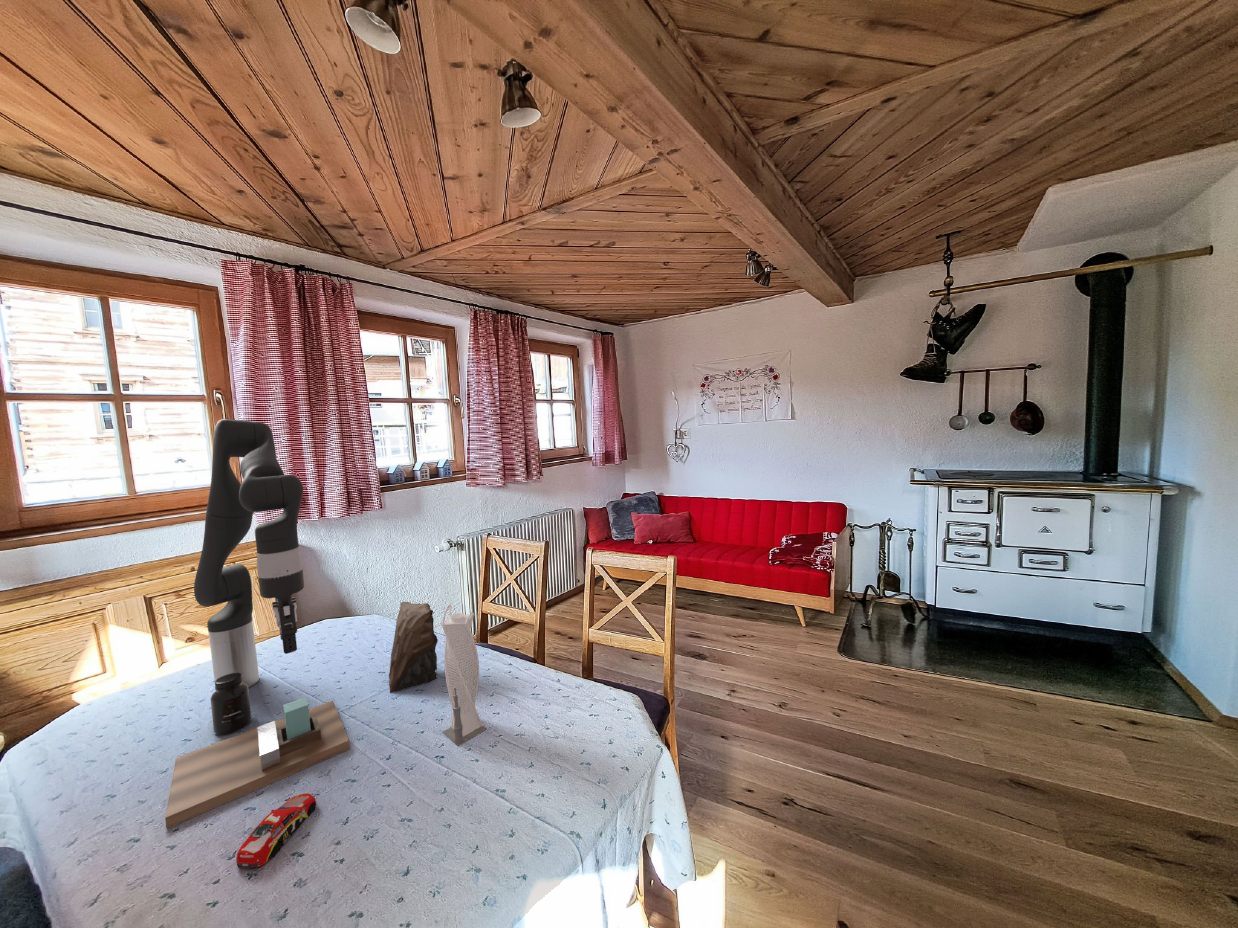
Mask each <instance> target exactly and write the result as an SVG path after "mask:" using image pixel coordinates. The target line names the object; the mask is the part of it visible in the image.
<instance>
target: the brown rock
mask: <svg viewBox="0 0 1238 928" xmlns="http://www.w3.org/2000/svg"><path fill="white" fill-rule="evenodd" d="M399 605H400V606H399V610H398V614H397V617H396V622H395V623H396V624H395V630H394V637H393V644H392V648H391V654H390V664H389V666H390V667H389V673H388V679H389V681H388V685H389V693H390V694H392V693H395V692H399V691H402V690H406V689H409V688H413V687H418V686H420V685H423V684H424V685H425V684H430V683H432V682H434V681H436V680H437V679H438V675H437V672H436V671H437V669H438V656H437V652H436V647H437V644H438V642H439V639H438V637H437V635H436V634H435V630H434V616H433V614H434V610H433V609H431V606H430V604H429V603H426V602H424V603H420V602H419V603H411V602H409V601H401V602H400V604H399Z"/></svg>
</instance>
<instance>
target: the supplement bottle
mask: <svg viewBox="0 0 1238 928" xmlns="http://www.w3.org/2000/svg"><path fill="white" fill-rule="evenodd" d="M242 682H243V680H242V674H241V673H231V674H227V675H224V676H222V677H220V678H218V679H217V680H216V681H214V689H215V691H214V692H213V693H212V695H211V696H210V709H211V717H212V728H213V733H214V734H215V735H217V736H225V735H230V734H234V733H236V732H238V731H240V730H242V729H244V728H245V727H247V726H248V725H249V723H250V722H251V721H252V711H251V700H250V699H251V698H250V690H249V688H250V687H248V686H247V685H246V684H245V683H242Z"/></svg>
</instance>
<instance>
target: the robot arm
mask: <svg viewBox="0 0 1238 928" xmlns="http://www.w3.org/2000/svg"><path fill="white" fill-rule="evenodd" d="M276 450H277V449H276V445H275V439H274V434H273V431H272V429H271V427H270V426H269V425H268V424H267V423H264V422H260V421H253V420H252V421H251V420H244V419H243V420H242V419H241V420H240V419H228V418H226V419H225V418H222V419H219V420H218V421H217V423H216V424H215V426H214V431H213V438H212V459H211V460H212V462H211V479H210V487H209V492H208V500H207V505H206V513H205V520H204V534H203V542H202V549H201V553H200V558H199V563H198V566H197V569H196V574H195V579H194V583H193V593H194V594H193V595H194V598H195V600H196V602H197V604H198V605H200V606H202V607H206V608H207V607H214V606H217V605H220V604H223V603H226V604H225V606H224V607H223V608H221V610H219V611H218V612H217V613H215V614H213V615H211V616H210V617H209V619H208V620H207V623H206V624H207V631H208V641H209V648H210V654H211V664H212V671H213V679H214V682H215V681H216V680H217V679H218V678H220V677H222V676H224V675H227V674H231V673H241V674H242V680H243V682H242V683H245V684H246V685H247V686H248V688H250V687H252V686H254V685H256V683H258V682H259V680H260V674H259V665H258V664H259V663H258V657H257V655H258V654H257V648H256V647H257V646H256V639H255V632H254V630H255V629H254V624H253V621H254V620H253V611H254V603H253V584H252V577H251V573H250V571H249V570H248V568H247V567H246V566H245V565H243V564H240V563H235V564H231V565H228V566H227V565H226V566H225V563H226V561H227V559H228V558H229V557H230V555H231V553H232V552H233V551H234V550H235V549H236V547H237V546H239V544H240V543H241V541H242V540H244V538H245V537H246V536H247V534H248V533H249V531H250V529H251V527H252V525H253V515H254V513H261V512H270V511H276V510H283V511H282V512H281V514H280V515H279V516H278V517H277V518H274V519H272V520H269V521H266V522H262V523H260V524H258V525H257V526H255V530H254V539H255V545H256V569H257V578H258V586H259V587H258V588H259V589H258V590H259V596H260V597H261V598H264V599H275V600H274V601H272V602H271V605H272V610H273V614H274V617H275V622H276V623H275V624H276V626H277V627H279V635H280V637H279V638H280V640H282V646H283V647H282V648H283V653H284V654H286V655H287V654H290V653H294V652H296V651H297V650H298V644H297V637H296V636H297V632H298V628H297V622H298V616H297V608H298V607H297V606H298V605H297V600H296V597H295V596H294V597H292V595H294V594H298V593H299V592H301V591H302V590H303V589H304V588H305V579H304V570H303V560H302V554H301V551H300V547H299V546H300V545H299V537H298V520H299V512H300V508H301V504H302V500H303V498H304V497H303V495H304V485H303V483H302V481H301V480H300V478H298V477H297V476H296V475H293V474H285V472H284V471H283V469H282V466H281V465H280V463H279V462H278V459H277V452H276ZM231 458H242V460H241V462H240V465H239V471H240V475H241V477H242V479H243V480H242V482H240V481H239V479H238V478H237V476H236V475H235V473H234V471H233V468H232V466H231V463H230V460H231Z"/></svg>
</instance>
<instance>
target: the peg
mask: <svg viewBox="0 0 1238 928" xmlns="http://www.w3.org/2000/svg"><path fill="white" fill-rule="evenodd" d="M282 708H283V716H284V717H283V718H285V725H286V734H287V740H290V739H292V738H295V737H298V736H300V735H303V734H305V733H308V732H310V731H311V728H310V718H309V709H310V708H309V703H308V701H307V697H306V696H304V697H301V698H298V699H296V700H292V701H290V702H287V703H284V704H283V705H282Z"/></svg>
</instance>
